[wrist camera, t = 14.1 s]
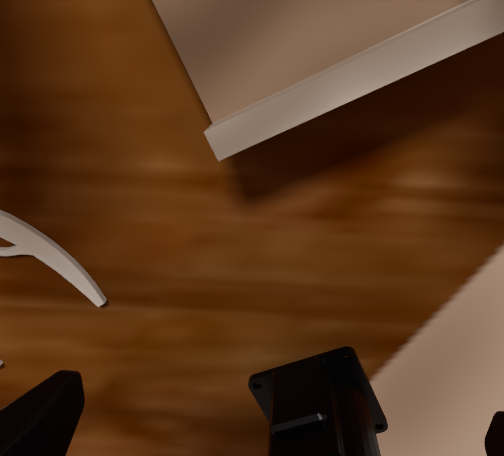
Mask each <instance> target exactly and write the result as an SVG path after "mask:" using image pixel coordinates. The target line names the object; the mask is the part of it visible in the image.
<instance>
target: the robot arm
mask: <svg viewBox="0 0 504 456" xmlns="http://www.w3.org/2000/svg"><path fill="white" fill-rule="evenodd" d="M345 355H350V356H349V357H343V356H345ZM255 382H258V383H260V384H255ZM248 386H249V389H250V391H251V392H252V394H253V396H254V397H255V399H256V401H257V402H258V404H259V406H260V407H261V409H262V411H263V412H264V414H265V416H266V417H267V419H268V421H269V422H270V423H269V446H268V456H381V455H380V450H379V446H378V442H377V437H376V434H377V433H381V432H384V431H385V430H387V428H388V424H387V421H386V418H385V415H384V413H383V411H382V409H381V407H380V405H379V402H378V400H377V398H376V396H375V394H374V391H373V389H372V387H371V385H370V383H369V381H368V378H367V376H366V374H365V372H364V370H363V368H362V365H361V363H360V361H359V359H358V357H357V354H356V352H355V350H354V349H353V348H351V347H341V348H338V349H335V350H332V351H328V352H325V353H322V354H319V355H315V356H312V357H309V358H306V359H302V360H299V361H296V362H293V363H289V364H286V365H283V366H280V367H276V368H273V369H270V370H267V371H263V372H260V373H257V374H254V375H252V376H250V378H249V383H248ZM84 403H85V397H84V390H83V384H82V378H81V374H80V373H79V372H77V371H70V370H60V371H58V372H56V373H55V374H53V375H52V376H50V377H49V378H47V379H46V380H44V381H43V382H41V383H40V384H38V385H37V386H35V387H34V388H32V389H31V390H30V391H28V392H27V393H25V394H24V395H22V396H21V397H19V398H18V399H16V400H15V401H13V402H12V403H10V404H9V405H7V406H6V407H4V408H3V409H1V410H0V456H65V455H66V453H67V450H68V448H69V445H70V442H71V440H72V437H73V435H74V432H75V429H76V427H77V424H78V422H79V419H80V416H81V414H82V411H83V408H84ZM485 450H486V453H487V456H504V411H498V412H496V413H495V414H494V416H493V419H492V421H491V424H490V426H489V429H488V432H487V434H486V437H485Z"/></svg>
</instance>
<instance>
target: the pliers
mask: <svg viewBox="0 0 504 456" xmlns="http://www.w3.org/2000/svg"><path fill="white" fill-rule="evenodd" d="M0 237H1V238H3V239H5V240H7V241H9V242H11V243H13V244H15V245H14V246H11V247H0V256H12V255H20V254H26V255H34V256H35V257H37V258H38V259H39V260H41V261H42V262H44V263H45V264H47V265H48V266H50V267H51V268H52V269H54V270H55V271H57V272H58V273H59V274H61V275H62V276H63V277H64V278H66V279H67V280H68V281H69V282H70V283H72V284H73V285H74V286H75V287H76V288H77V289H79V290H80V291H81V292H82V293H83V294H84V295H86V296H87V297H88V298H89V299H90V300H91V301H92V302H93V303H94V304H95V305H96V306H97V307H99V306H101V305H103V304H104V303H105V302H106V300H107V299H106V298H105V296H104V295H103V293H102V292H101V290H100V289H99V287H98V286H97V285H96V283H95V282H94V281H93V279H92V278H91V277H90V276H89V274H88V273H87V272H86V271H85V270H84V269H83V268H82V267H81V265H80V264H79V263H78V262H77V261H76V260H75V259H74V258H73V257H72V256H70V255H69V254H68V253H67V252H66V251H65V250H64V249H63V248H62V247H60V246H59V245H58V244H57V243H55V242H54V241H52V240H51V239H50V238H48V237H47V236H46V235H44V234H43V233H41V232H40V231H38V230H37V229H35V228H34V227H32V226H31V225H29V224H28V223H26V222H24V221H22V220H20V219H18V218H17V217H15V216H13V215H11V214H9V213H7V212H4V211H2V210H0ZM2 363H3V362H2V360H1V359H0V366H1V364H2Z"/></svg>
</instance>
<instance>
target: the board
mask: <svg viewBox="0 0 504 456" xmlns="http://www.w3.org/2000/svg"><path fill="white" fill-rule="evenodd" d="M152 1H153V3H154V5H155V7H156V9H157V11H158V13H159V15H160V17H161V19H162V21H163V23H164V25H165V27H166V29H167V31H168V33H169V35H170V38H171V40H172V42H173V44H174V46H175V48H176V50H177V52H178V54H179V56H180V58H181V60H182V62H183V64H184V66H185V68H186V70H187V72H188V74H189V76H190V78H191V80H192V82H193V84H194V86H195V88H196V90H197V92H198V94H199V96H200V99H201V101H202V103H203V105H204V107H205V109H206V111H207V113H208V115H209V117H210V119H211V121H212V124H211V125H210V126H209V127H208V128H207V129H206V130H205V131H204V134H205V136H206V138H207V140H208V142H209V144H210V146H211V147H212V149H213V151H214V153H215V155H216V157H217V159H218V161H220V160H222V159H224V158H226V157H229V156H231V155H233V154H235V153H237V152H240V151H242V150H244V149H246V148H249V147H251V146H253V145H255V144H257V143H260V142H262V141H264V140H266V139H268V138H271V137H273V136H275V135H277V134H279V133H282V132H284V131H286V130H288V129H290V128H293V127H295V126H297V125H299V124H301V123H304V122H306V121H308V120H310V119H313V118H315V117H317V116H319V115H321V114H324V113H326V112H328V111H330V110H332V109H335V108H337V107H339V106H341V105H343V104H346V103H348V102H350V101H352V100H354V99H357V98H359V97H361V96H363V95H365V94H368V93H370V92H372V91H374V90H376V89H379V88H381V87H383V86H385V85H388V84H390V83H392V82H394V81H396V80H399V79H401V78H403V77H405V76H407V75H410V74H412V73H414V72H416V71H418V70H421V69H423V68H425V67H427V66H429V65H432V64H434V63H436V62H438V61H440V60H443V59H445V58H447V57H449V56H452V55H454V54H456V53H458V52H460V51H463V50H465V49H467V48H469V47H471V46H474V45H476V44H478V43H480V42H482V41H485V40H487V39H489V38H491V37H493V36H496V35H498V34H500V33H502V32H504V0H152Z"/></svg>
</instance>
